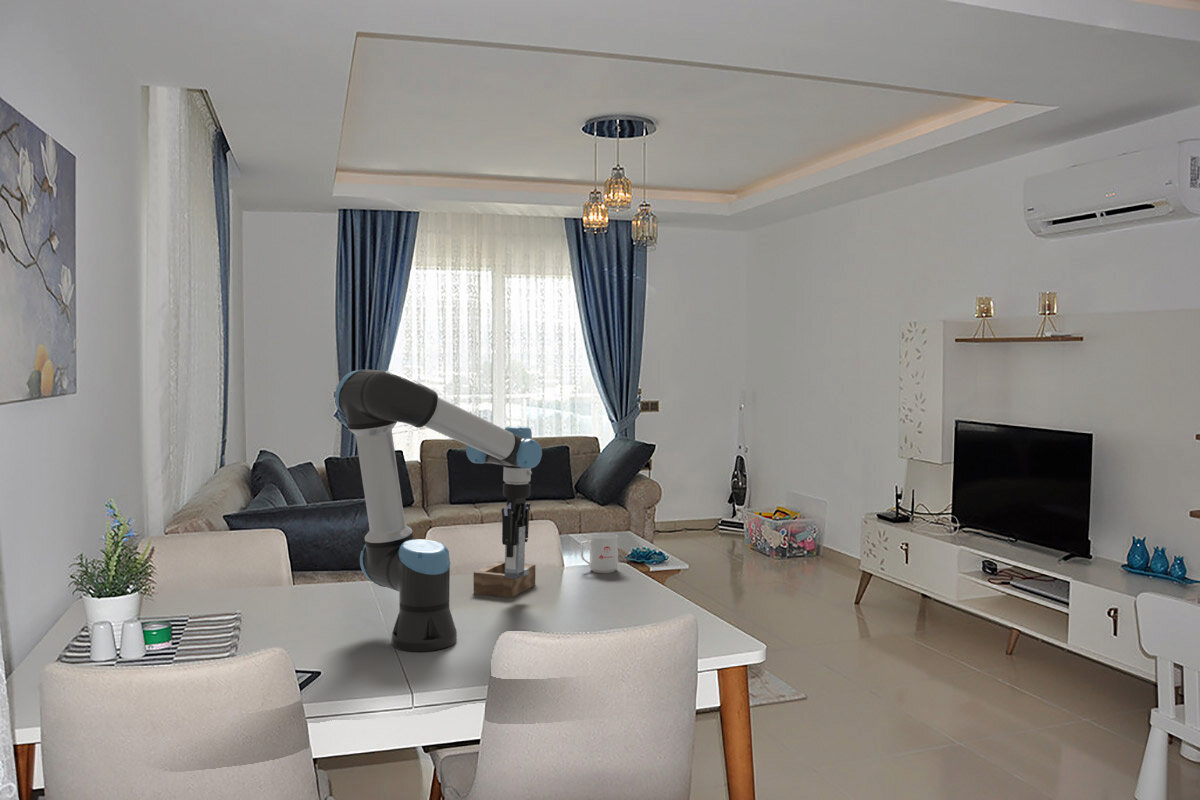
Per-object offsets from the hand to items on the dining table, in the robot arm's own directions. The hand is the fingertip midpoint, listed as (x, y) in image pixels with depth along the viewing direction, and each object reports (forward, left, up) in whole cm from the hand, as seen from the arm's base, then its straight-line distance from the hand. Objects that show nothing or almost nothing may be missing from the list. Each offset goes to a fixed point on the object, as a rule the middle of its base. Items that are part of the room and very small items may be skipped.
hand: (514, 566), depth 254 cm
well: (+12, +9, -10) cm, 17 cm away
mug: (+44, -8, -10) cm, 45 cm away
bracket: (+1, 0, -3) cm, 3 cm away
